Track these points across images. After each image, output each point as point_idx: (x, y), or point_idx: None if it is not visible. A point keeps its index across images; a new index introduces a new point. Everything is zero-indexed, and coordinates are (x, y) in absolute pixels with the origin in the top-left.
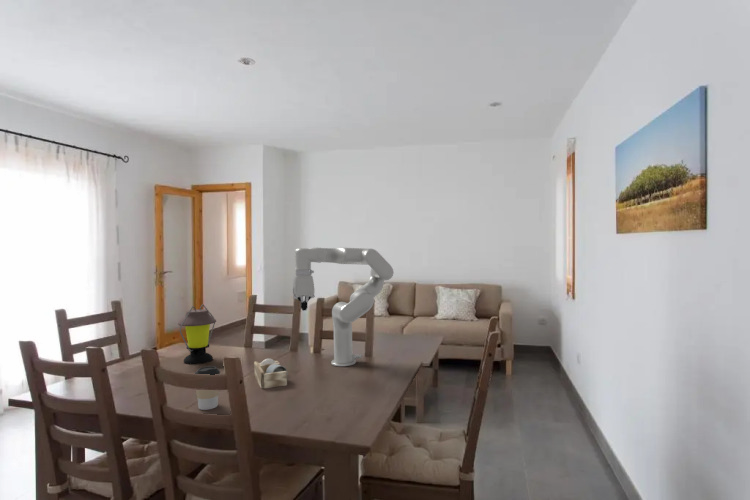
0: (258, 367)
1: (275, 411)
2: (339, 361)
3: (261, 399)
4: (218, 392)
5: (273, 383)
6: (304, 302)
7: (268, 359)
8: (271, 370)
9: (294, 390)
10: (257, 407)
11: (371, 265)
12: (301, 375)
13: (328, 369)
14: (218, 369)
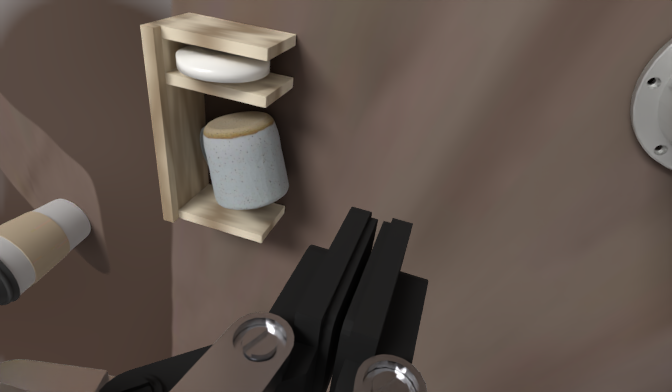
0: (157, 148)
1: (212, 343)
2: (666, 137)
3: (191, 265)
4: (65, 251)
5: None
6: (331, 389)
7: (201, 79)
8: (212, 184)
9: (290, 270)
10: (178, 301)
11: None
12: (379, 144)
13: (548, 145)
14: (5, 284)
